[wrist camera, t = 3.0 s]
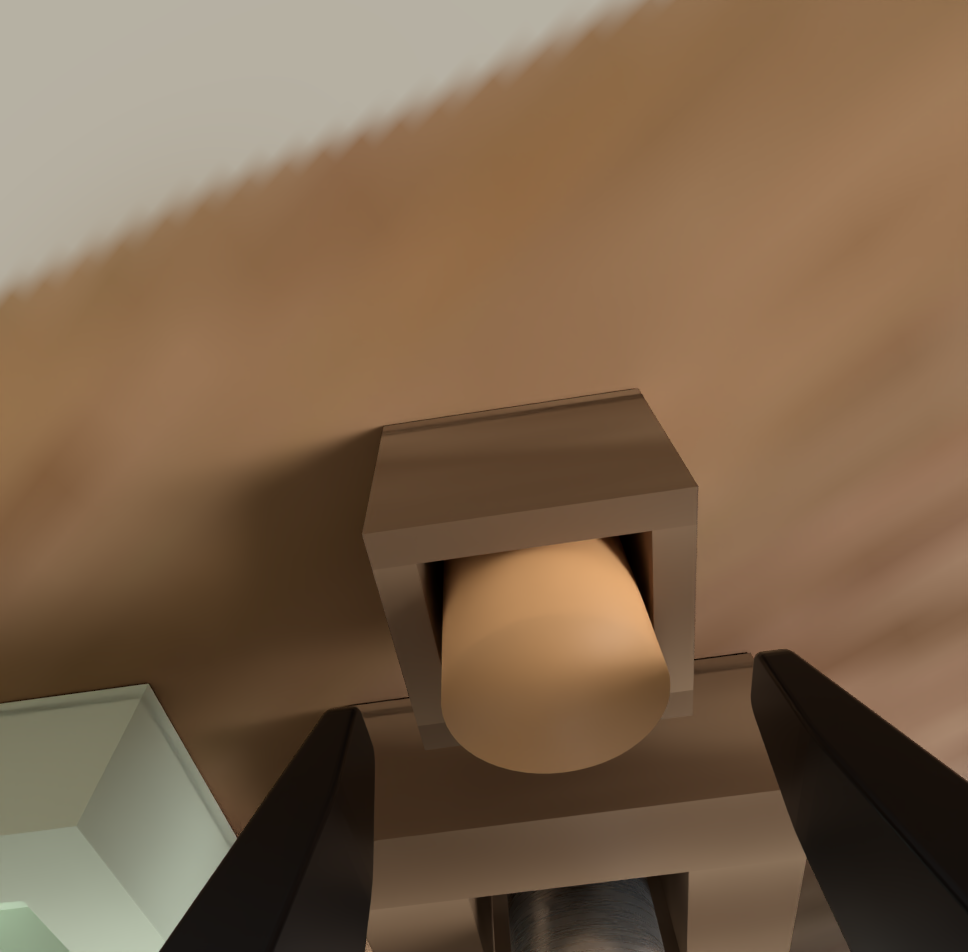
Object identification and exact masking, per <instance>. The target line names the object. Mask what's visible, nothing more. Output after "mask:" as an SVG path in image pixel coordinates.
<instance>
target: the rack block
mask: <svg viewBox="0 0 968 952" xmlns="http://www.w3.org/2000/svg"><path fill="white" fill-rule="evenodd" d="M236 840H237V837H236V835H235V834H234V832H233V830H232V828H231V827H230V825H229V823H228V821H227V820H226V818H225V816H224V814H223V813H222V811H221V809H220V807H219V806H218V804H217V802H216V800H215V799H214V797H213V795H212V793H211V792H210V790H209V788H208V786H207V785H206V783H205V781H204V779H203V778H202V776H201V774H200V772H199V771H198V769H197V767H196V766H195V764H194V762H193V760H192V759H191V757H190V755H189V753H188V752H187V750H186V748H185V746H184V745H183V743H182V741H181V739H180V738H179V736H178V734H177V732H176V731H175V729H174V727H173V725H172V724H171V722H170V720H169V718H168V717H167V715H166V713H165V711H164V710H163V708H162V706H161V704H160V703H159V701H158V699H157V697H156V696H155V694H154V692H153V690H152V689H151V687H150V685H149V684H142V685H135V686H127V687H120V688H113V689H105V690H98V691H91V692H83V693H76V694H69V695H61V696H54V697H46V698H39V699H32V700H24V701H17V702H10V703H2V704H0V952H159V950H160V949H161V948H162V946H163V945H164V943H165V942H166V940H167V939H168V937H169V936H170V935H171V933H172V932H173V930H174V929H175V927H176V926H177V924H178V923H179V922H180V920H181V919H182V917H183V916H184V914H185V913H186V912H187V910H188V909H189V907H190V906H191V904H192V903H193V901H194V900H195V899H196V897H197V896H198V894H199V893H200V891H201V890H202V889H203V887H204V886H205V884H206V883H207V881H208V880H209V878H210V877H211V876H212V874H213V873H214V871H215V870H216V868H217V867H218V866H219V864H220V863H221V861H222V860H223V858H224V857H225V855H226V854H227V853H228V851H229V850H230V848H231V847H232V845H233V844H234V842H235V841H236Z"/></svg>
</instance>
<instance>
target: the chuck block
mask: <svg viewBox="0 0 968 952" xmlns="http://www.w3.org/2000/svg"><path fill="white" fill-rule="evenodd" d="M753 661H754V658H753V656H752V655H751V653H747V654H739V655H732V656H724V657H717V658H709V659H702V660H694V683H693V715H692V716H685V717H677V718H669V719H662V720H659V722H658V723H657V725H656V726H655V727H654V728H653V729H652V730H651V732H650V733H649V734H648V735H647V736H646V737H645V738H644V739H642V740H641V741H640V742H639V743H638V744H636V745H635V746H634V747H632V748H631V749H629V750H628V751H626V752H624V753H623V754H621V755H619V756H617V757H615V758H613V759H611V760H608V761H606V762H604V763H601V764H598V765H595V766H592V767H589V768H585V769H581V770H576V771H570V772H563V773H551V774H537V773H525V772H519V771H513V770H509V769H505V768H501V767H498V766H495V765H493V764H490V763H488V762H486V761H484V760H482V759H480V758H478V757H476V756H474V755H473V754H472V753H470V752H469V751H467V750H466V749H465V748H464V747H463V746H454V747H446V748H438V749H430V750H425V749H424V746H423V742H422V739H421V736H420V732H419V729H418V725H417V722H416V718H415V715H414V712H413V708H412V705H411V701H410V698H408V699H401V700H393V701H386V702H378V703H370V704H363V705H355V707H358V708H359V709H360V711H361V713H362V715H363V718H364V721H365V724H366V727H367V730H368V733H369V735H370V738H371V741H372V744H373V748H374V754H375V801H374V856H373V884H372V895H371V905H370V913H369V921H368V929H367V937H366V938H367V940H368V942H369V944H370V946H371V948H372V951H373V952H511V941H510V926H509V912H508V897H507V894H509V893H518V892H526V891H534V890H542V889H551V888H559V887H567V886H575V885H584V884H592V883H600V882H608V881H617V880H625V879H633V878H642V877H647V881H648V885H649V889H650V893H651V897H652V901H653V905H654V909H655V914H656V918H657V922H658V926H659V930H660V934H661V938H662V942H663V946H664V950H665V952H789V951H790V946H791V940H792V935H793V929H794V924H795V918H796V913H797V907H798V902H799V897H800V891H801V886H802V880H803V875H804V869H805V864H806V858H807V857H806V855H805V853H804V851H803V849H802V846H801V844H800V842H799V840H798V837H797V835H796V833H795V830H794V828H793V825H792V822H791V819H790V817H789V814H788V811H787V808H786V806H785V803H784V800H783V797H782V794H781V791H780V788H779V786H778V783H777V780H776V777H775V774H774V771H773V768H772V765H771V763H770V760H769V757H768V754H767V751H766V748H765V745H764V742H763V740H762V737H761V734H760V731H759V728H758V725H757V722H756V720H755V717H754V714H753V710H752V705H751V684H752V673H753ZM348 707H350V706H348Z"/></svg>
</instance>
